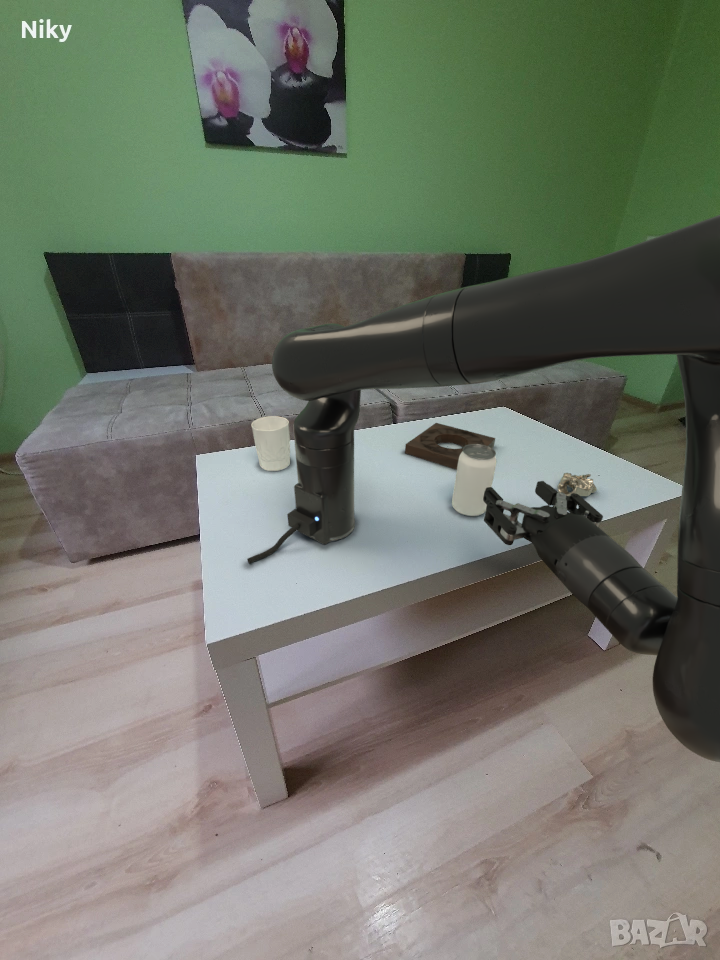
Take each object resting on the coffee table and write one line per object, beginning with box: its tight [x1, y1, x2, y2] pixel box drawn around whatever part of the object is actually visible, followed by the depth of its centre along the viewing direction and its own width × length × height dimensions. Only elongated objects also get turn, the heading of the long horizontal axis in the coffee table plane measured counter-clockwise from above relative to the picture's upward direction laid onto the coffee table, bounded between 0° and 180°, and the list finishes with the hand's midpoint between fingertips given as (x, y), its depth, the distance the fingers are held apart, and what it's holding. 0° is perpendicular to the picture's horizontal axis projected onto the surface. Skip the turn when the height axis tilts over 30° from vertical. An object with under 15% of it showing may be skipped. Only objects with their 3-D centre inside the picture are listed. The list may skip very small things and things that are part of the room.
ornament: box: [557, 472, 598, 497], centre depth 77 cm, size 8×7×4 cm
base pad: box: [404, 422, 496, 471], centre depth 93 cm, size 16×16×2 cm
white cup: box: [250, 415, 291, 472], centre depth 85 cm, size 8×8×10 cm
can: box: [451, 444, 498, 517], centre depth 70 cm, size 6×6×12 cm
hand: (512, 489), depth 58 cm, fingers open, 8 cm apart
